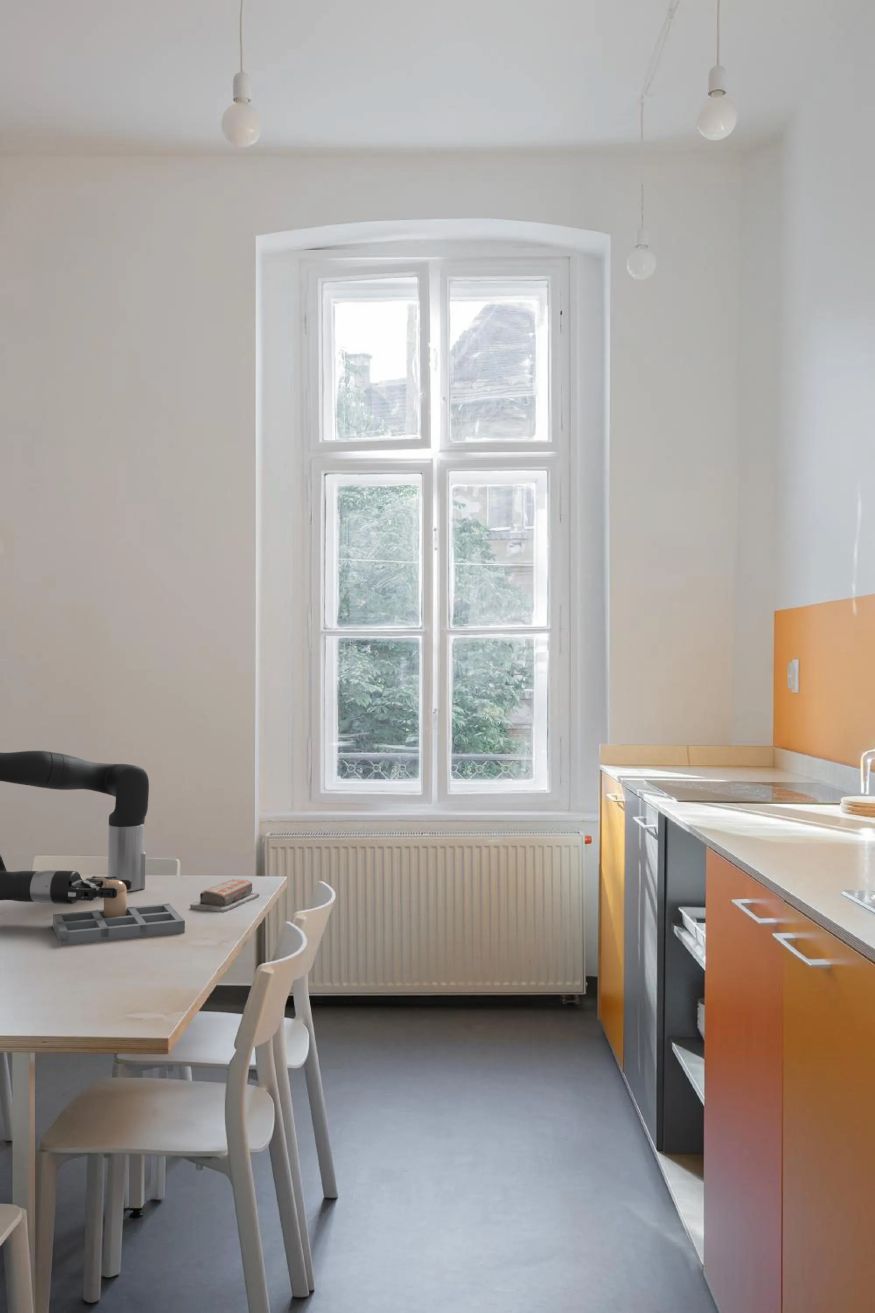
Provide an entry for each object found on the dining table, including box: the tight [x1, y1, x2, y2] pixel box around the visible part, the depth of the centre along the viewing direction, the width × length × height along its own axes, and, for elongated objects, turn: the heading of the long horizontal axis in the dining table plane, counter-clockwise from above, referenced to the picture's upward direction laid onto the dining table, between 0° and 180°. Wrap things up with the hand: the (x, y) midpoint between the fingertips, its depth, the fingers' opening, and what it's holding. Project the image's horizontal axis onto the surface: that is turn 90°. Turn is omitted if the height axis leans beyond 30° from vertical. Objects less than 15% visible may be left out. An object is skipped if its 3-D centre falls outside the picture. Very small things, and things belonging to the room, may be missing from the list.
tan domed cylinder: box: [103, 880, 128, 918], centre depth 226 cm, size 5×5×10 cm
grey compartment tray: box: [52, 903, 186, 946], centre depth 223 cm, size 26×18×3 cm
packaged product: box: [189, 879, 260, 913], centre depth 250 cm, size 18×5×10 cm
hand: (124, 888), depth 226 cm, fingers open, 8 cm apart
